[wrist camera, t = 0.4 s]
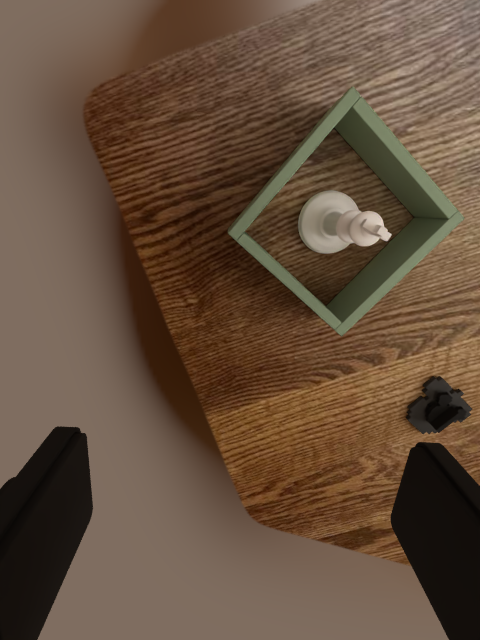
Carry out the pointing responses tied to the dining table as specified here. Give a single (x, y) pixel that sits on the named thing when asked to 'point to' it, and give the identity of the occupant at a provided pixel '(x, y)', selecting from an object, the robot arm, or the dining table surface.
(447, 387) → the block figure
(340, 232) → the chess piece
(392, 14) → the dining table surface
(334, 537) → the dining table surface
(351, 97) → the square frame
